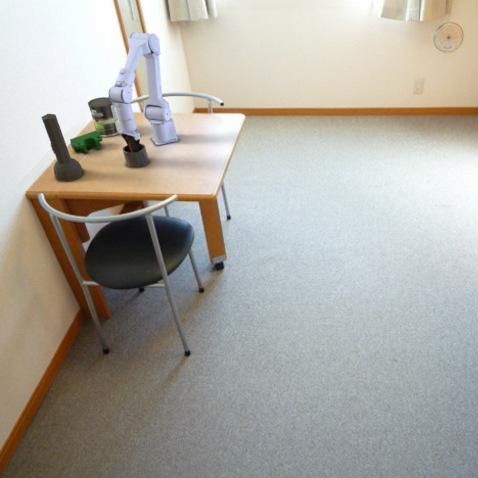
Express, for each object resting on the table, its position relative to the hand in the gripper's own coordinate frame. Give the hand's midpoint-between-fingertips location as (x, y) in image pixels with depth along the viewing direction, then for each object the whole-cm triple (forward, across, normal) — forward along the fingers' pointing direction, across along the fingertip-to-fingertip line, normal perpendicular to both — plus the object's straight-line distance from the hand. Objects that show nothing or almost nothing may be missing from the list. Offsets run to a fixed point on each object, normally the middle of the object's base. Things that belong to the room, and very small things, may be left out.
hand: (134, 150), depth 193 cm
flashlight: (+6, -8, -24) cm, 26 cm away
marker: (+2, 0, 0) cm, 2 cm away
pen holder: (+5, 0, 0) cm, 5 cm away
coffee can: (+6, -35, +3) cm, 36 cm away
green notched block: (+6, -24, -10) cm, 27 cm away
